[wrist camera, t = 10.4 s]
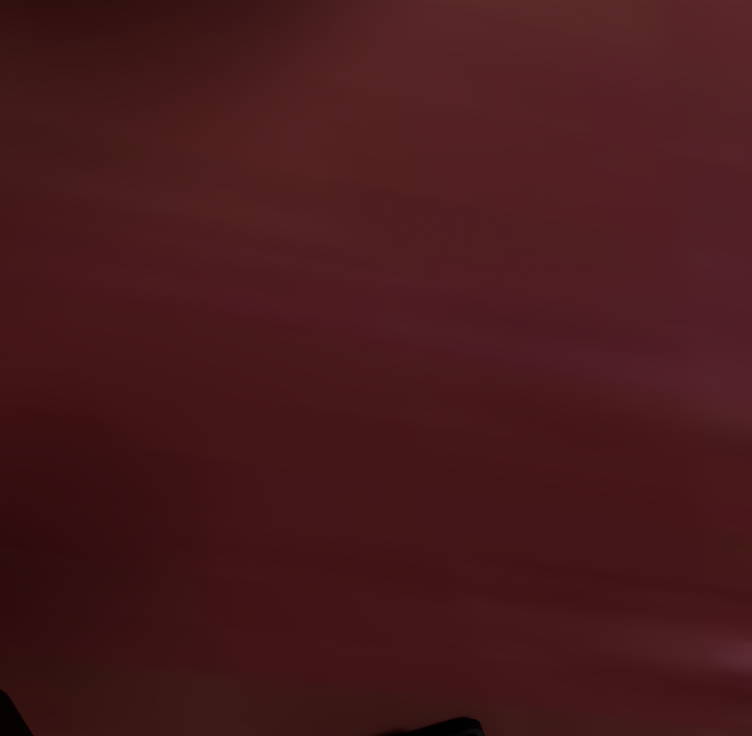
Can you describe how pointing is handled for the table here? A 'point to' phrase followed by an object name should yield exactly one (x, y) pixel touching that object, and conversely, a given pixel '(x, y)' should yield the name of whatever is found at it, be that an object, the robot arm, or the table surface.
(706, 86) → the table surface
